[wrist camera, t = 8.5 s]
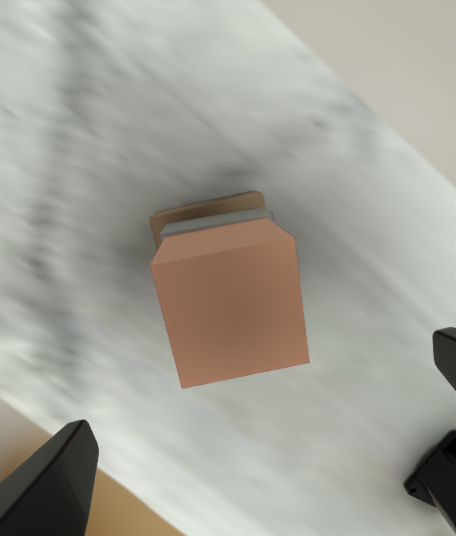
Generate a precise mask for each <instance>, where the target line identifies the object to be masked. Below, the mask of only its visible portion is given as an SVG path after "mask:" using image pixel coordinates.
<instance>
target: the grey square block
mask: <svg viewBox="0 0 456 536" xmlns="http://www.w3.org/2000/svg"><path fill="white" fill-rule="evenodd" d="M262 218H268V219H269V220H271V221H272V222H273V223H274V218H273V214H272V213H270V212H269V211H267V210H265V209H263V208H262V207H258V208H253V209H247V210H241V211H236V212H230V213H224V214H218V215H213V216H207V217H201V218H196V219H190V220H184V221H179V222H173V223H167V224H166V225H165V227H164V228H163V230H162V231H161V233H160V237H161V242H163V240H164V238H165V237H168V236H173V235H178V234H184V233H189V232H194V231H199V230H204V229H210V228H215V227H220V226H225V225H231V224H236V223H241V222H246V221H251V220H257V219H262Z"/></svg>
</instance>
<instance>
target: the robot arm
mask: <svg viewBox="0 0 456 536" xmlns="http://www.w3.org/2000/svg"><path fill="white" fill-rule="evenodd" d="M433 354H434V362H435V364H436V366H437V368H438V369H439V371H440V372H441V373H442V374H443V376H444V377H445V378H446V379H447V381H448V382H449V383H450V384H451V386H452V387H453V388H454V389H455V391H456V328H453V327H447V328H444V329H440V330H436V331H435V332H434V333H433ZM98 456H99V448H98V444H97V441H96V439H95V437H94V434H93V432H92V430H91V427H90V425H89V423H88V422H87V421H86V420H84V419H82V420H78V421H74V422H70V423H68V424H67V425H65V426H64V427H63V428H62V429H61V430H60V431H59V432H57V433H56V434H55V435H54V436H53V437H52V438H51V439H50V440H48V441H47V442H46V443H45V444H44V445H43V446H41V447H40V448H39V449H38V450H37V451H36V452H35V453H33V454H32V455H31V456H30V457H29V458H28V459H27V460H25V461H24V462H23V463H22V464H21V465H20V466H19V467H17V468H16V469H15V470H14V471H13V472H12V473H11V474H10V475H8V476H7V477H6V478H5V479H4V480H3V481H2V482H0V536H84V535H85V531H86V527H87V523H88V518H89V513H90V507H91V501H92V494H93V488H94V481H95V475H96V469H97V462H98ZM404 488H405V490H406V491H407V493H408V494H409V495H411V496H413V497H415V498H417V499H420V500H422V501H424V502H426V503H428V504H430V505H432V506H434V507H437V508H438V510H439V511H440V512H441V514H442V515H443V517H444V518H445V519H446V521H447V522H448V524H449V525H450V527H451V528H452V529H453V531H454V532H455V534H456V431H455V432H452V433H451V434H450V435H449V436H448V437H447V438H446V439H445V441H444V442H443V443H442V444H441V445H440V446H439V447H438V448H437V449H436V451H435V452H434V453H433V454H432V455H431V456H430V457H429V458H428V460H427V461H426V462H425V463H424V464H423V465H422V466H421V467H420V468H419V470H418V471H417V472H416V473H415V474H414V475H413V476H412V477H411V479H410V480H409V481H408V482H407V483H406V484H405V487H404Z"/></svg>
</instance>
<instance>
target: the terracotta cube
mask: <svg viewBox="0 0 456 536" xmlns="http://www.w3.org/2000/svg"><path fill="white" fill-rule="evenodd" d="M150 267H151V271H152V275H153V279H154V282H155V286H156V290H157V294H158V298H159V302H160V306H161V309H162V313H163V317H164V321H165V325H166V329H167V333H168V337H169V340H170V344H171V348H172V352H173V356H174V360H175V364H176V368H177V371H178V375H179V379H180V383H181V387H182V389H183V388H188V387H193V386H198V385H203V384H207V383H212V382H217V381H222V380H227V379H232V378H237V377H242V376H247V375H251V374H256V373H261V372H266V371H271V370H276V369H281V368H286V367H291V366H296V365H300V364H305V363H310V362H309V354H308V346H307V337H306V329H305V321H304V313H303V305H302V297H301V288H300V280H299V272H298V264H297V256H296V248H295V239H294V237H293V236H292V235H290V234H289V233H288V232H286V231H285V230H283V229H282V228H280V227H279V226H278V225H276V224H275V223H273V222H272V221H271V220H269V219H268V218H262V219H257V220H251V221H246V222H241V223H236V224H231V225H225V226H220V227H215V228H210V229H204V230H199V231H194V232H189V233H184V234H178V235H173V236H168V237H165V238H164V240H163V242H162V244H161V246H160V247H159V249H158V251H157V253H156V255H155V257H154V259H153V261H152V262H151V264H150Z"/></svg>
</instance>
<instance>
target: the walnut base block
mask: <svg viewBox="0 0 456 536" xmlns="http://www.w3.org/2000/svg"><path fill="white" fill-rule="evenodd" d="M258 207H262V208H263V209H265V206H264V200H263V195H262V193H260V192H257V191H250V192H245V193H241V194H236V195H232V196H227V197H223V198H218V199H214V200H210V201H205V202H201V203H196V204H192V205H187V206H183V207H178V208H174V209H170V210H165V211H161V212H156V213H154V214H153V215H152V216H151V217H150V218H149V221H150V225H151V228H152V232H153V235H154V239H155V242H156V246H157V249H159V247H160V246H161V244H162V242H161V237H160V233H161V231H162V230H163V228H164V227H165V225H166V224H167V223H173V222H179V221H184V220H190V219H196V218H201V217H207V216H213V215H218V214H224V213H230V212H236V211H241V210H247V209H253V208H258Z"/></svg>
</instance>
